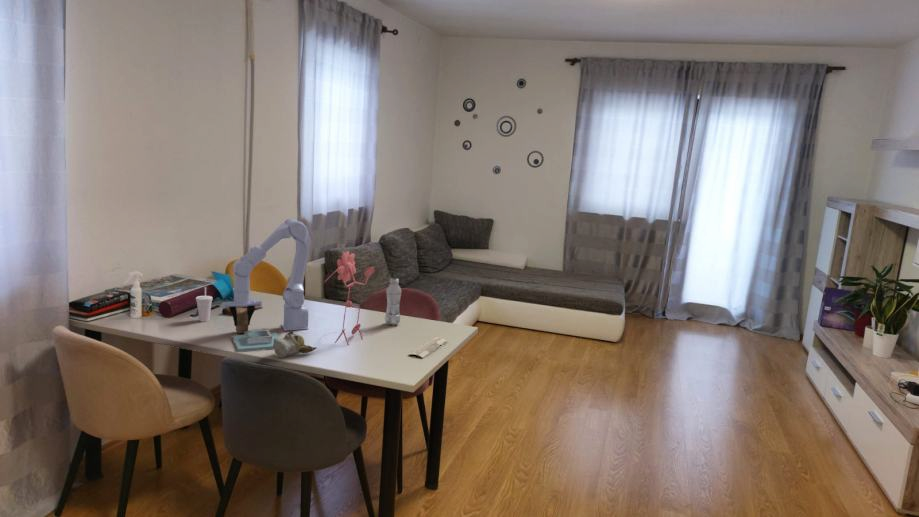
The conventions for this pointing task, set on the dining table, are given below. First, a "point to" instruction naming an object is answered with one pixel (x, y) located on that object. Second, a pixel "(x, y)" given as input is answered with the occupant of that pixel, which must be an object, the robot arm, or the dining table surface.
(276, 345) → the ceramic sculpture
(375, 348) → the dining table surface
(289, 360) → the dining table surface
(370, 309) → the dining table surface
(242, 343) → the board
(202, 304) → the smoothie
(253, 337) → the socket
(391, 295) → the plastic bottle
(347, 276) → the figurine
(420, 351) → the newspaper
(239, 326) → the peg
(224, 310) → the sunglasses case
